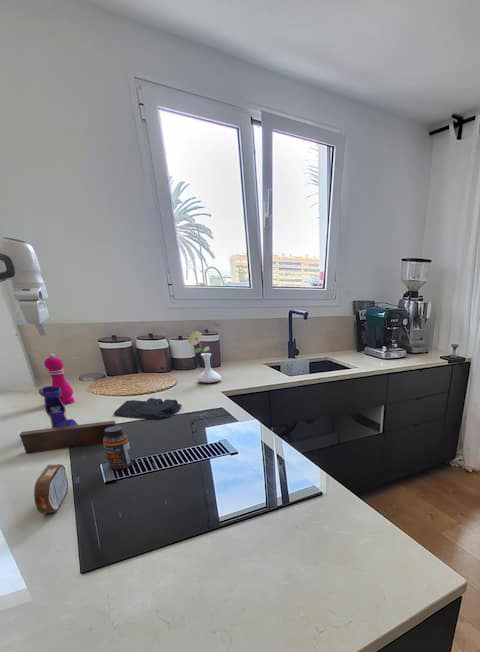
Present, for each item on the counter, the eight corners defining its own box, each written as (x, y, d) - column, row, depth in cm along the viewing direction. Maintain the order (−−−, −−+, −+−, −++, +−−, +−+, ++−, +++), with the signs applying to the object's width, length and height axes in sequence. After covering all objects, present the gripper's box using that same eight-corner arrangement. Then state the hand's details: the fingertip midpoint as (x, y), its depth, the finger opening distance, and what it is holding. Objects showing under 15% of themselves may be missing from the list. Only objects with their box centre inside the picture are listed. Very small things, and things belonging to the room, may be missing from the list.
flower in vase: (215, 377, 204) (209, 328, 194) (225, 382, 197) (219, 330, 187) (190, 381, 196) (182, 330, 186) (199, 386, 189) (192, 332, 178)
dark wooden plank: (26, 453, 117) (19, 435, 114) (28, 450, 119) (21, 431, 117) (118, 440, 127) (114, 423, 125) (119, 437, 130) (114, 420, 127)
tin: (58, 488, 99) (48, 459, 96) (73, 486, 100) (64, 457, 97) (39, 521, 86) (27, 488, 83) (56, 518, 87) (45, 485, 84)
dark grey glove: (135, 404, 162) (133, 392, 160) (186, 407, 160) (184, 396, 158) (109, 416, 148) (106, 404, 146) (165, 419, 146) (162, 407, 144)
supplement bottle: (105, 470, 108) (95, 433, 104) (114, 461, 114) (105, 425, 109) (129, 469, 109) (120, 432, 105) (136, 460, 115) (128, 424, 110)
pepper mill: (51, 402, 160) (36, 353, 152) (71, 398, 166) (57, 351, 158) (58, 406, 157) (43, 355, 148) (78, 402, 162) (65, 353, 154)
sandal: (54, 446, 122) (40, 400, 116) (50, 427, 136) (37, 385, 130) (85, 440, 126) (73, 396, 120) (78, 423, 140) (67, 382, 134)
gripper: (25, 291, 139) (37, 331, 144) (11, 294, 122) (26, 339, 128) (47, 291, 141) (58, 330, 147) (37, 294, 125) (49, 338, 131)
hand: (43, 335), depth 137 cm, fingers closed
